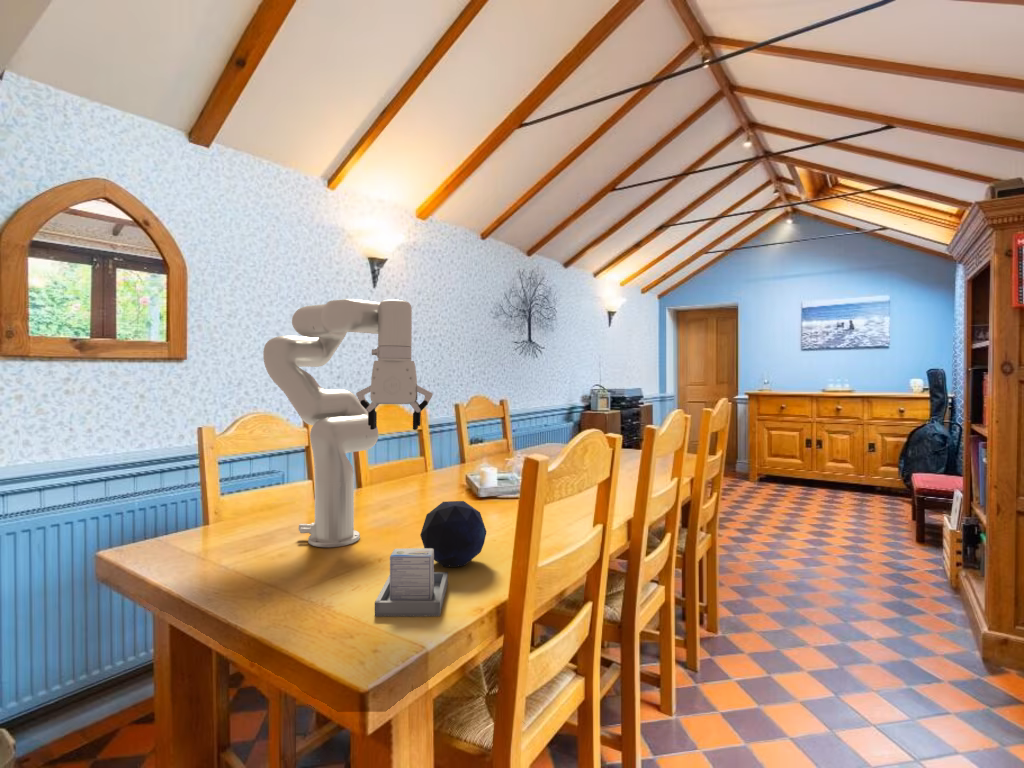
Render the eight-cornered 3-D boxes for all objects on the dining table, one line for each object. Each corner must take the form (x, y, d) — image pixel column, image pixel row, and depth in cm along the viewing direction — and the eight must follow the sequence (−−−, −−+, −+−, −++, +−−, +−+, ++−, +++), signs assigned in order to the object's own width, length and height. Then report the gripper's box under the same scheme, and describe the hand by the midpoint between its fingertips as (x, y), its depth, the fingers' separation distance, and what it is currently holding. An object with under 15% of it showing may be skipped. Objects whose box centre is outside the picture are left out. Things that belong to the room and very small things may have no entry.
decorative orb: (469, 525, 136) (439, 482, 130) (509, 539, 125) (478, 493, 118) (431, 570, 129) (396, 527, 122) (469, 589, 118) (434, 543, 111)
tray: (374, 616, 97) (374, 602, 97) (391, 584, 112) (391, 572, 112) (439, 616, 98) (439, 602, 97) (447, 584, 112) (447, 572, 112)
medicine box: (434, 591, 107) (434, 547, 107) (431, 601, 102) (431, 555, 102) (393, 591, 106) (393, 547, 106) (389, 601, 102) (389, 555, 102)
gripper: (352, 353, 121) (352, 430, 122) (430, 354, 122) (430, 431, 122) (361, 354, 129) (360, 427, 129) (434, 355, 129) (434, 427, 130)
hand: (394, 429), depth 126 cm, fingers open, 9 cm apart
